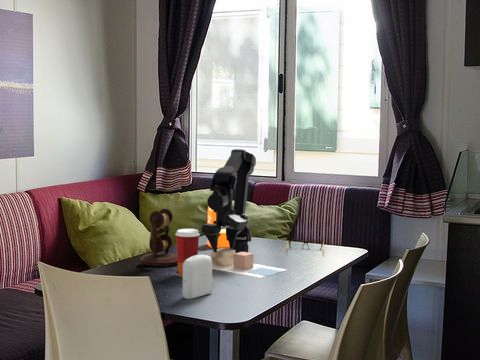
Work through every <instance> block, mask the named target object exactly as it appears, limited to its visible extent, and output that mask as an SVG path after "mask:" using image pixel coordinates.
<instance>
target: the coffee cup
mask: <svg viewBox="0 0 480 360" xmlns="http://www.w3.org/2000/svg"><path fill="white" fill-rule="evenodd" d="M199 232H200V231H199V230H198V229H195V228H181V229H177V231H176V233H175V234H174V235H175V236H176V253H177V254H176V255H177V258H178V264H177V272H178V273H177V274H178V276H180V277H183V263H184V261H185V260H187V259H188V258H190V257H192V256H195V255H199V254H198V253H199V239H200V235H201V233H199Z"/></svg>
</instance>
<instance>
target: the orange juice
mask: <svg viewBox="0 0 480 360" xmlns="http://www.w3.org/2000/svg"><path fill="white" fill-rule="evenodd" d="M213 221H216V212H214V210H212V209H210V208H209V206H208V205H207V224H208V223H210V224H213ZM221 227H222V226H221ZM219 234H221V235H220V236H219V237H218V246H217V249H220V248H230V246H229V241H227V240H226V229H221V231H220V233H219ZM206 239H207V238H206ZM206 241H207V243H206V244H207V245H208V247H210V248H211V249H212V247H211V245H210V243H209V241H208V239H207V240H206Z"/></svg>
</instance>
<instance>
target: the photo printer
mask: <svg viewBox="0 0 480 360" xmlns="http://www.w3.org/2000/svg"><path fill="white" fill-rule="evenodd" d="M212 292H213V269H212V260H211V256H210V255H206V254H198V255H195V256H192V257H190V258H188V259H187V260H185V261H184V263H183V276H182V296H183V299H188V300H192V299H195V298H199V297H202V296H206V295H209V294H212Z"/></svg>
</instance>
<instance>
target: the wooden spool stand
mask: <svg viewBox="0 0 480 360" xmlns="http://www.w3.org/2000/svg"><path fill="white" fill-rule="evenodd" d="M172 221H173V213H172V211H171V210H170V209H168V208H162V209H160V210H154V211H152V212H151V213H150V215H149V222H150V224H151V225H150V234H149V235H150V236H149V241H148V242H149V243H148V246H149V250H150V251H151V253H147V254H144V255H142V256H141V257H140V258H139V263H140V265H141V267H142V268H143V267H144V266H145V265H146V266H155V267H156V266H157V267H165V268H169V266H176V265H178V258H177V254H175V253H171V252H169V251H170V249H171V247H172V246H173V240H172V238H171V236H170V235H169V233H170V230H171V227H170V224H171V222H172ZM163 233H164V234H163ZM159 234H161V235H159ZM158 235H159V237H158ZM163 251H164V252H163Z"/></svg>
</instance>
